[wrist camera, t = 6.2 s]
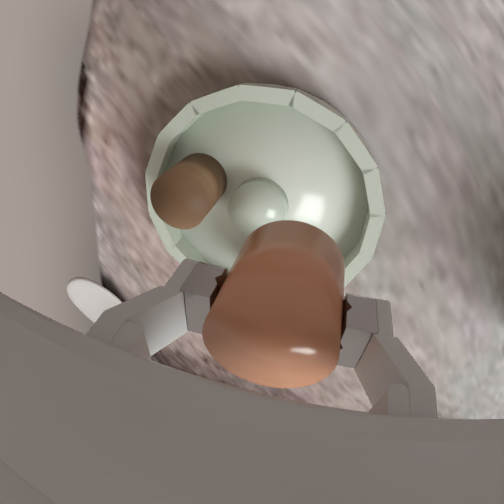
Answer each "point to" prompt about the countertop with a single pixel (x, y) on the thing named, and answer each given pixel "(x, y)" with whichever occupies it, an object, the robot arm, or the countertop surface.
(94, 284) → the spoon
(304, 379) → the loose bead
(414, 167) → the countertop surface
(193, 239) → the groove tray
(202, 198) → the seated bead
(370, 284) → the countertop surface
